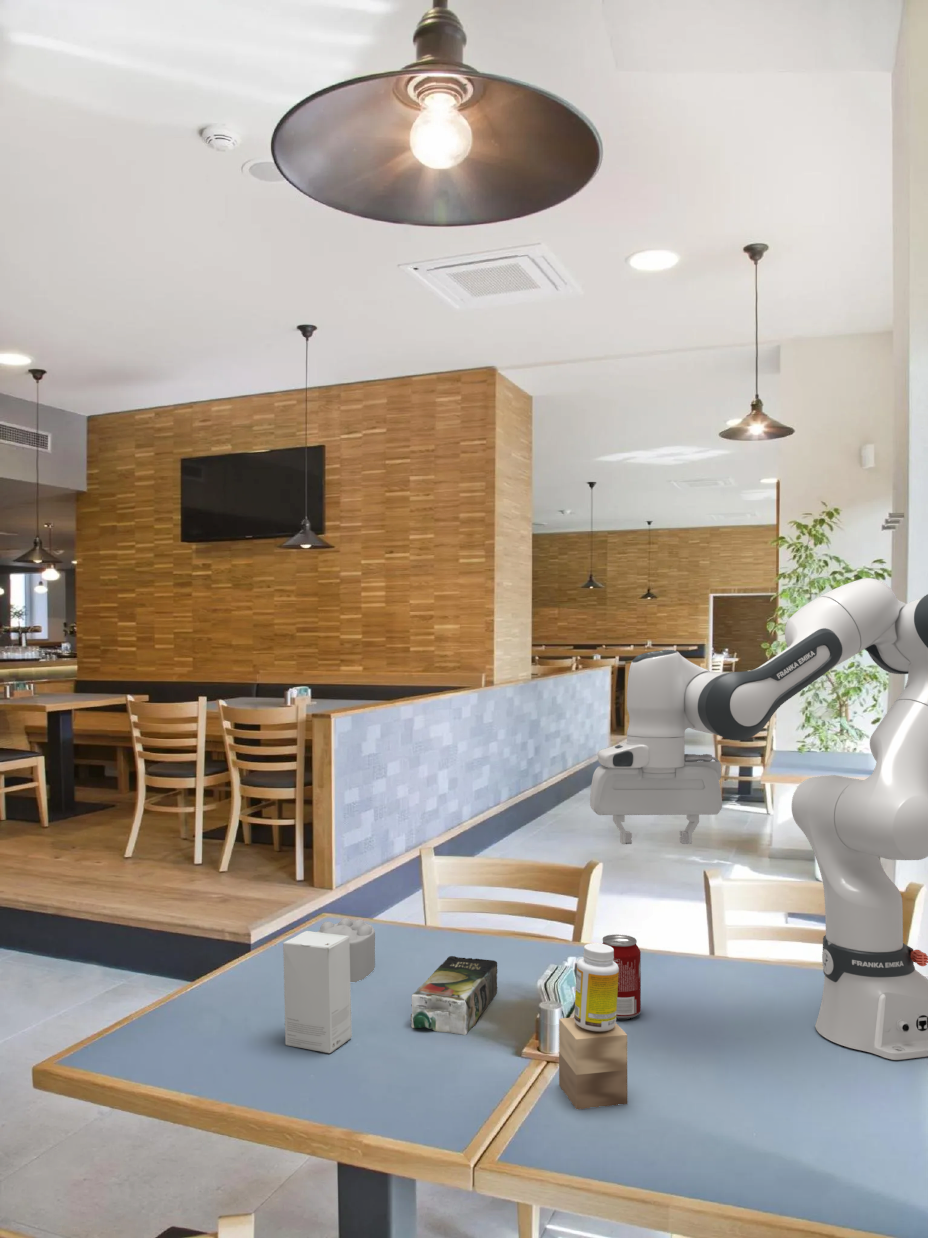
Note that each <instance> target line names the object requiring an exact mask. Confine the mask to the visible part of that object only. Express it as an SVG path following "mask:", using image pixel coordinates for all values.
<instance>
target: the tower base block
mask: <svg viewBox="0 0 928 1238" xmlns="http://www.w3.org/2000/svg"><path fill="white" fill-rule="evenodd" d="M558 1086H559V1087H560V1089H561V1090H562V1091H563V1093H564V1094H565V1095H567V1096H568V1097H567V1096H566V1097H567V1098H568V1100H569V1101H570V1103H571V1102H572V1103H571V1104H572V1106H573V1107H574V1106H575V1107H574V1108H575V1109H578V1110H585V1108H587V1109H591V1108H590V1107H596V1108H600V1107H599V1106H605V1107H613V1106H612V1105H614V1106H619V1105H618V1104H623V1105H628V1069H627V1070H621V1071H611V1072H601V1073H590V1074H580V1075H576V1074H575V1073H574V1071H573V1070H572V1069H571V1067H570V1066H569V1065H568V1063H567V1062H566V1061H565V1059H564V1058H563V1057H562V1055H561V1054H560V1053H559V1052H558Z"/></svg>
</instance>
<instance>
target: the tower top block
mask: <svg viewBox="0 0 928 1238" xmlns="http://www.w3.org/2000/svg"><path fill="white" fill-rule="evenodd" d="M558 1021H559V1022H558V1023H559V1024H558V1025H559V1026H558V1032H559V1033H558V1034H559V1035H558V1036H559V1037H558V1038H559V1042H558V1043H559V1044H558V1047H559V1048H558V1050H559V1051H558V1054H559V1053H560V1054H561V1055H562V1057H563V1058H564V1059H565V1061H566V1062H567V1063H568V1065H569V1066H570V1067H571V1069H572V1070H573V1071H574V1073H575V1074H576V1075H580V1074H590V1073H601V1072H611V1071H621V1070H627V1071H628V1034H627V1033H626V1032H625V1031H624V1029H622V1027H620V1026H619V1024H617V1023H616V1024H615V1026H614V1028H612V1029H611V1030H608V1031H600V1032H599V1031H591V1030H587V1029H584V1028H582V1027H580V1026H578V1025H577V1024H576V1022H575V1020H574V1017H565V1018H563V1017H562V1018H559V1020H558Z"/></svg>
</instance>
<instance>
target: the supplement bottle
mask: <svg viewBox="0 0 928 1238" xmlns="http://www.w3.org/2000/svg"><path fill="white" fill-rule="evenodd" d="M582 954H583V955H582V958H579V960H578V961H577V964H576V977H575V978H576V979H575V996H574V997H575V998H574V1014H573V1015H574V1017H573V1018H574V1020H575V1022H576V1024H577V1025H578V1026H580V1027H582V1028H584V1029H587V1030H591V1031H599V1032H600V1031H608V1030H611V1029H612V1028H614V1026H615V1024H617V1019H616V1012H617V993H618V975H619V967H618V965H617V964H616V963H615V962H614V961H613V958H614V949H613V948H612V947H611V946H608V945H605V944H602V943H598V942H592V943H591V942H590V943H587V944H584V947H583V953H582Z"/></svg>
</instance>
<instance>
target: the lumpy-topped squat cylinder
mask: <svg viewBox="0 0 928 1238" xmlns="http://www.w3.org/2000/svg"><path fill="white" fill-rule="evenodd" d="M317 932H319V933H327V934H336V935H344V936H349V944H350V947H349V949H350V982H355V983H358V982H357V981H359V980H361V981H363V980H365V979H366V978H367V977H366V976H368V975H369V974H370V973H371V972H372V971H373V970H374V968H375V969H376V963H375V962H376V959H375V958H376V930H375V928H374V927H373V925H371V924H369V923H366V922H365V921H364V919H362V918H361V919H360V918H357V919H356V920H355V921H354V920H351V919H350V918H348V917H345V918H342V919H340V920H339V922H337V923H333V922H332V921H324V922H323V923H321V925H320V927H319V929H318V930H317ZM374 971H375V970H374ZM374 971H373V972H374ZM373 972H372V973H373ZM372 973H371V974H372ZM371 974H370V975H371ZM370 975H369V976H370ZM369 976H368V977H369ZM365 977H366V978H365ZM364 978H365V979H364ZM362 979H363V980H362ZM359 982H360V981H359Z"/></svg>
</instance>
